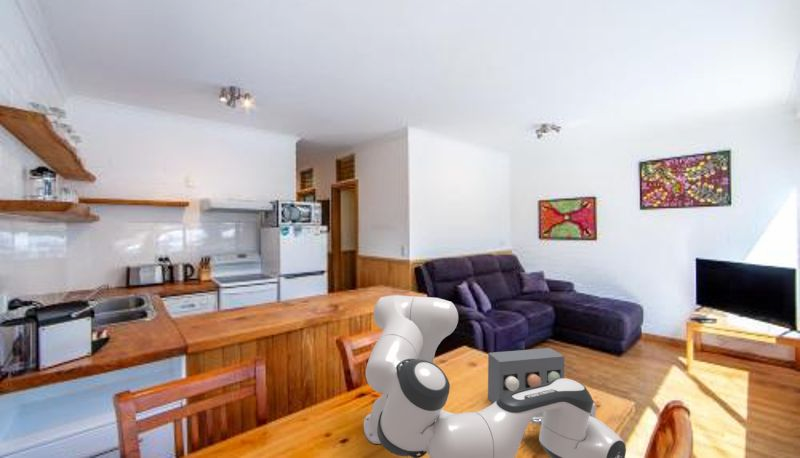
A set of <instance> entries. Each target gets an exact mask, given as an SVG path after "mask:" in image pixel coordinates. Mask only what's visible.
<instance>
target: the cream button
mask: <svg viewBox="0 0 800 458" xmlns="http://www.w3.org/2000/svg"><path fill="white" fill-rule="evenodd" d="M504 384H505V386H506V387H507V388H508V389H509V390H510V391H515V390H517V389H518V387H519V381H518V380H517V379H516V378H515V377H514V376H508V377H506V379H505V381H504Z"/></svg>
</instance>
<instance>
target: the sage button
mask: <svg viewBox="0 0 800 458" xmlns="http://www.w3.org/2000/svg"><path fill="white" fill-rule="evenodd" d="M557 378H560V375H559V374H558V373H557V372H556V371H554V370H550V371H547V381H548V382H550V381H552V380H554V379H557Z"/></svg>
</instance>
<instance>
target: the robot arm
mask: <svg viewBox="0 0 800 458" xmlns="http://www.w3.org/2000/svg"><path fill="white" fill-rule="evenodd" d="M373 319H374V323H375V324H376V325H377V327H378V328H379V329H381V330H382V333H381V334H380V336H379V338H378V339H377V341H376V343H375V344H374V346H373V348H372V351H371V352H370V355H369V358H368V360H367V363H366V368H365V378H366V381H367V383H368V385H369V386H370V388H371V390H374V391H375V392H376V393H378V394H382V395H381V396H380V397H378V398H377V399H376V400H375V401H374V402H373V405H372V407H371V412H370V413H368V414H367V415H366V416H365V417H364V419H363V426H362V427H363V432H364V435H365V438H366V439H367V440H368V441H369V442H370V443H371V444H373V445H374V444H381V445H382V447H383V448H385V450H387V451H388V452H389V453H391V454H392V455H396V456H400V457H410V458H422V457H423V456H425V455H426V454H427V455H428V457H429V458H515V457H516V455H517V454H518V451H519V447H520V446H521V443H522V440H523V437H524V435H525V432H526V430H527V429H528V427H529V425H530V423H532V424H535V425H540V429H539V434H538V435H539V436H538V441H539V444H540V446H541V447H542V449H543V451H545V453H547V455H548V456H549V457H550V458H626V453H627V448H626V443H625V441H624V440H623V439H622V438H621V436H620V435H619V434H618V433H617V432H615V430H613V429H612V428H611V427H609V426H608V425H607V424H605V423H604V422H603V421H602V420H600V419H598V418H596V417H597V416H596V414H597V413H596V412H597V411H596V409H597V408H596V404H595V403H594V402H595V401H594V399H593V397H592V396H591V394H590V392H589V390H588V389H587V387H586V386H585V385H584V384H582V383H581V382H579V381H576V380H574V379H571V378H565V377H564V378H557V379H554V380H552V381H550V382H548V383H546V384H543V385H539V386H534V387H530V388H526V389H521V390H517V391H513V392H510V393H506V394H504V395H502V396H501V397H500V398H499V399H498V400H497V401H496V402H494V403H492V404H490V405H488V406H487V407H485V408H482V409H480V410H478V411H471V412H459V413H453V412H450V411H446V410H444V409H443V408H444V407H445V406H446V403H447V401H448V398H449V394H450V385H451V384H450V381H449V378H448V377H447V375H446V373H445V372H444V370H442V368H440V367H439V366H438V365H437V364H436V363H434V361H435V354H436V351H437V348H438V347H439V345H440V344H441V342H442V341H443V340H444V339H446V337H448V336H450V335H451V334H452V333H454V331H455V329H456V328H457V325H458V323H459V312H458V309H457V307H456V306H455V304H454V303H453V302H452V301H449V300H446V299H442V298H440V297H430V296H417V295H416V296H414V295H413V296H412V295H399V294H394V295H393V294H392V295H386V296H385V295H384V296H381V297H379V298H378V300H377V301H376V303H375V305H374V309H373Z"/></svg>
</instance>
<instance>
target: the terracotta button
mask: <svg viewBox="0 0 800 458" xmlns="http://www.w3.org/2000/svg"><path fill="white" fill-rule="evenodd" d="M526 381H527V384H528V385H529V386H531V387H534V386H539V385H541V378H540V377H539V376H537V375H536V374H534V373H532V374H529V375H528V377H527V379H526Z"/></svg>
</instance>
